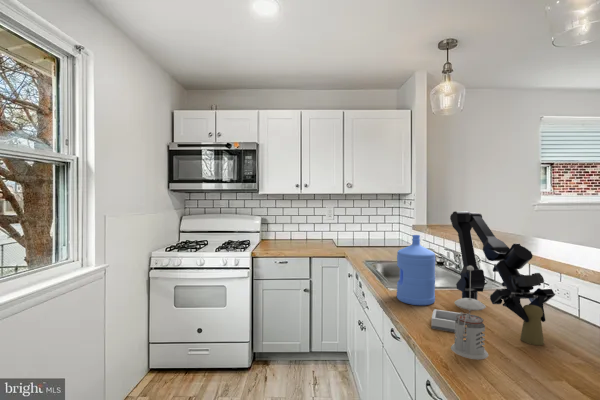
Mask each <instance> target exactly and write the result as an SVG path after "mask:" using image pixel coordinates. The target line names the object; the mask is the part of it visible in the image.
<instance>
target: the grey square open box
mask: <svg viewBox="0 0 600 400" xmlns="http://www.w3.org/2000/svg"><path fill="white" fill-rule="evenodd" d="M460 313H461V312H458V311H457V312H455V311H449V310H443V309H442V310H441V309H437V308H433V311H432V316H431V318H430V319H431V329H433V330H439V331H444V332H445V331H446V332H451V333H454V334H455V333H456V332H455V329H456V328H455V320H456V319H457V317H456V316H457V315H458V314H460ZM463 313H464V312H462V314H463ZM461 326H462V325H461ZM463 328H464V326H463ZM463 332H464V330H463Z"/></svg>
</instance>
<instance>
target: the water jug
mask: <svg viewBox="0 0 600 400" xmlns="http://www.w3.org/2000/svg"><path fill="white" fill-rule="evenodd" d="M420 238H421V235H419V234H412V238H411V241H412V242H411V243H412V244H411V245H407V246H405V247H403V248H401V249H399V250H398V251H397V254H396V260H397V264H396V265H397V267H398V268H399V279H398V281H397V282H396V298H397V300H399V302H402V303H404V304H408V305H413V306H430V305H433V304H434V303H435V302H436V294H435V293H436V253H435V252H434V251H432V250H431V249H428V248H427V247H426V246H425V247H424V246H422V245H421V243H420V242H421V239H420Z"/></svg>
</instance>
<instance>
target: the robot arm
mask: <svg viewBox="0 0 600 400" xmlns="http://www.w3.org/2000/svg"><path fill="white" fill-rule="evenodd" d="M449 216H450V218H449V219H450V222H451V226H452V228H453V229H454V230H455V232H456V233H457V236H458V243H459V249H460V254H461V259H462V265H463V267H462V270H461V271H460V278H459V279H458V281H457V282H456V284H455V285H456V289H457V290H458V291H459V292H461V299H462V298H472V299H475V300H478V297H479V296H478V295H479V293H481V292H482V293H483V292H484V288H485V285H486V278H485V271H484V270H483V269H480V268H479V267H478V265H477V260H476V253H475V249H474V243H473V238H472V233H471V232H472V231H471V230H472V229H473V231H474V232H475V234H476V236H477V237H478V239H479V241H480V242H481V243H482V251H483V254H484V256H485V258H486V259H487V260H488V262H489V261H490V262H497V263H494V265H493V268H492V272H493V273H494V272H495V273H498V274H499V277H500V278H501V280H502V283H501V286H502V287H505V288H497V289H496V290H495V291H494V292H493V293H491V294H490V297H489V299H490V302H491V303H492V305H502V306H503V307H506V308H507V309H509V310H510V311H512V312H513V313H514V314H515V315H516V316H517V317H519V318H520V319H521V320H523V322H524V321H525V322H529V319H528V317H527V315H526V313H525V311H524V309H523V307H524V306H523V305H522V304H521V299H522V300H523V299H526V300H527V299H528V300H529V302H530V303H528V305H535V306H538V307H540V308H541V309H542V311H543V316H542V317H541V323H544V322H546V315H545V310H544V304H545V303H547V302H548V301H549V300H552V298H554V297H555V296H556V294H555V292H554V290H553V289H552V288H549V287H540V286H542V285H541V284H543V283H545V280H544V277H543V275H542V273H540V272H534V273H531V274H526V275H524V274H521V273H520V272H519V270H521V269H522V268H524V267H525V266H526V265H527V264H528V263H529V262H530V261H531V260H532V259H533V256H534V255H533V253H532V251H531V250H529V249H528V248H526V247H525V246H523V245H521V244H520V243H516V242H515V243H513V244H511V247H509V246H508V245H507V243H505V242H504V241H503V240H501V239H499V238H497V237H496V236H495V234H494V233H493V231H492V230H491V229H490V227H489V226H488V224H487V222H485V220H484V219H483V215H482V214H481V212H470V211H469V210H465V211H464V210H463V211H462V210H461V211H460V210H459V211H458V210H455V211H453V212H452V213H451V214H450V215H449ZM468 266H472V267H474V270H471V294H470V270H467V267H468ZM536 286H538V288H537V289H536V290H534V287H536ZM533 290H534V291H533ZM531 291H532V292H531ZM478 292H479V293H478Z"/></svg>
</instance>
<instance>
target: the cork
mask: <svg viewBox="0 0 600 400" xmlns="http://www.w3.org/2000/svg"><path fill="white" fill-rule="evenodd" d="M522 307H523V309H524V311H525V313H526V315H527V317H528V319H529V322H525V321H524V320H523V323H522V328H521V333H520V340H521V342H524V343H526V344H529V345H534V346H543V345H545V341H544V333H543V332H544V331H543V326H542V321H541V317H542V316H543V311H542V309H541V308H540V307H538V306H535V305H529V304H525V305H524V306H522Z"/></svg>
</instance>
